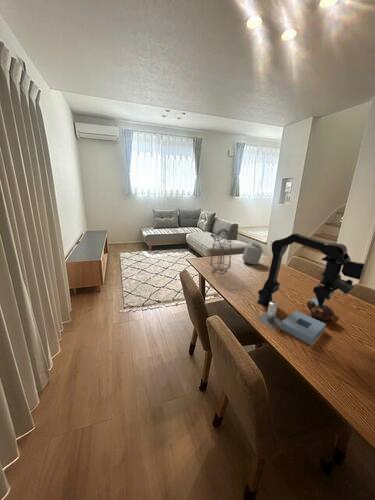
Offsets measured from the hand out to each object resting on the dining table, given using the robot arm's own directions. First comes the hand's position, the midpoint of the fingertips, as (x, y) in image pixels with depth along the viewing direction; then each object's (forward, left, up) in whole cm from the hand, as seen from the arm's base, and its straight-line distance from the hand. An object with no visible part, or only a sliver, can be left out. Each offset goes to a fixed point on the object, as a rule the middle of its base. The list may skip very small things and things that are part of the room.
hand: (324, 302), depth 95 cm
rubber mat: (-17, -13, -15) cm, 26 cm away
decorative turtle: (-2, +11, -15) cm, 19 cm away
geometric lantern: (-77, +16, -15) cm, 80 cm away
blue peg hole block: (-4, -7, -15) cm, 17 cm away
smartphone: (-7, +25, -15) cm, 30 cm away
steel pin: (-17, -13, -14) cm, 26 cm away
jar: (-72, +54, -15) cm, 91 cm away
